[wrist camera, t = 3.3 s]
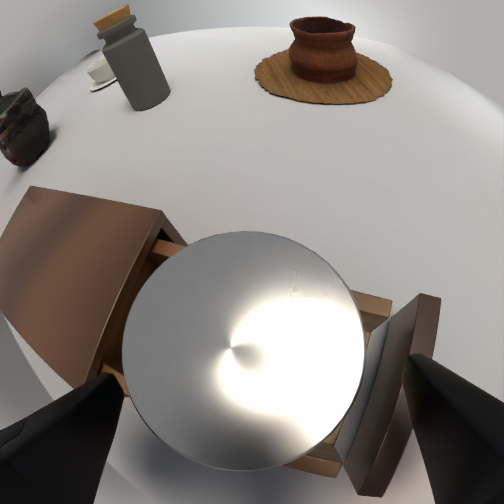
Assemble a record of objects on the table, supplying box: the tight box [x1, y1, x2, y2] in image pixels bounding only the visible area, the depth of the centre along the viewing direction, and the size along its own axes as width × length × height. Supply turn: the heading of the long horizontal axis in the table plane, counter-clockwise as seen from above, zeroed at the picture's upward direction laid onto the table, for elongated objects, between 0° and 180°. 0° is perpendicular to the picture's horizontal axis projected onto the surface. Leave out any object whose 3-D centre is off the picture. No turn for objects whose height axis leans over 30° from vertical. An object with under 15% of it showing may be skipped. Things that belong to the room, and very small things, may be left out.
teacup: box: [86, 56, 116, 91], centre depth 41 cm, size 10×10×5 cm
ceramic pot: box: [254, 17, 393, 104], centre depth 26 cm, size 18×18×7 cm
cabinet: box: [0, 186, 188, 397], centre depth 17 cm, size 17×10×6 cm, turn 70°
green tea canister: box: [122, 231, 366, 471], centre depth 10 cm, size 6×6×9 cm
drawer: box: [97, 238, 441, 497], centre depth 13 cm, size 18×9×5 cm, turn 70°
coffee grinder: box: [0, 88, 49, 166], centre depth 27 cm, size 13×15×18 cm
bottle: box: [93, 5, 170, 111], centre depth 26 cm, size 6×6×15 cm
